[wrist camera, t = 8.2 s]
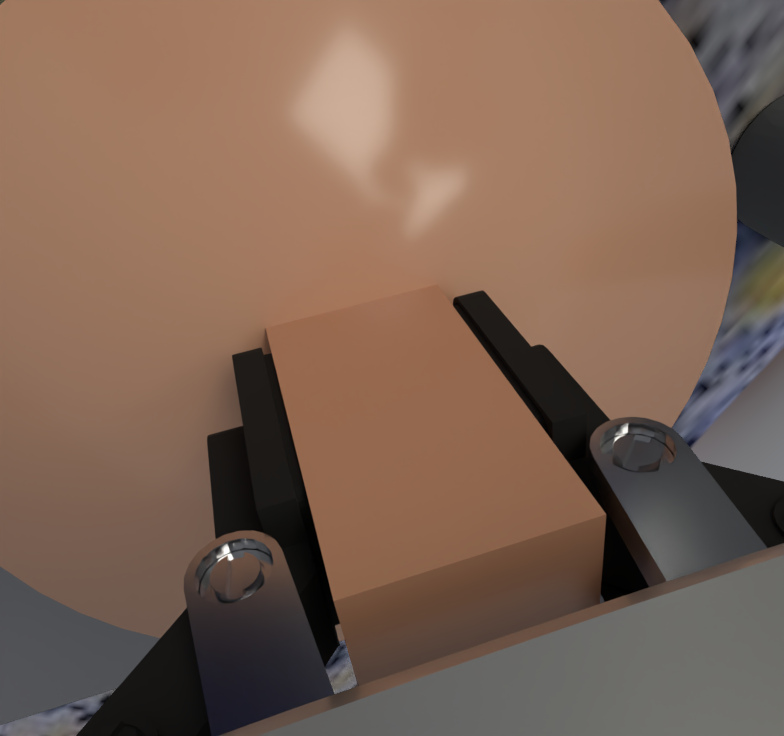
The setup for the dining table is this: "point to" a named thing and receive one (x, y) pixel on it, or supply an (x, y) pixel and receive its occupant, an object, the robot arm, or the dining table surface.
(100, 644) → the mat
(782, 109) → the bottle
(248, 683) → the robot arm
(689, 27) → the dining table surface
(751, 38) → the dining table surface
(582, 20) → the lid
